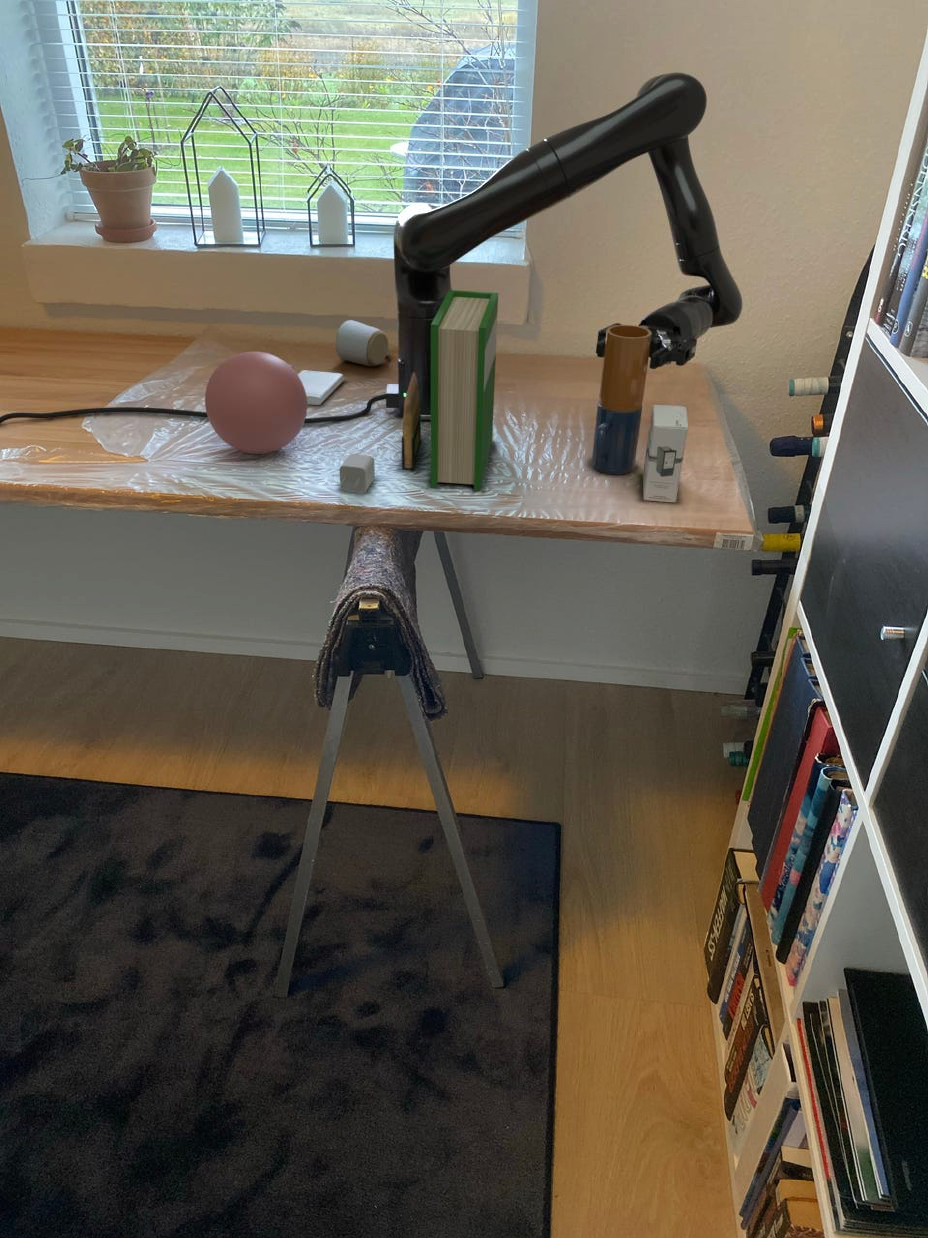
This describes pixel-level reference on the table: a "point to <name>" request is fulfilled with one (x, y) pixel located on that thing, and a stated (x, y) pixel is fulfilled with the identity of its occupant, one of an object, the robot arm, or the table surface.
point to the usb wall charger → (357, 473)
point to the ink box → (664, 453)
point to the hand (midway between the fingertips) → (625, 356)
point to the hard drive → (319, 385)
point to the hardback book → (462, 386)
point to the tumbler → (624, 368)
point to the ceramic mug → (361, 343)
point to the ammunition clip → (411, 426)
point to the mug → (615, 441)
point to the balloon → (256, 402)
